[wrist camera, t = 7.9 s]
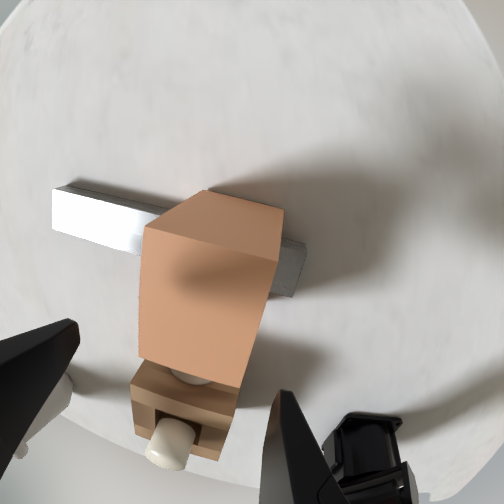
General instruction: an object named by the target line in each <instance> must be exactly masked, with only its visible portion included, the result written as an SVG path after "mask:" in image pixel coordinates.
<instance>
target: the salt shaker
mask: <svg viewBox="0 0 504 504" xmlns="http://www.w3.org/2000/svg"><path fill="white" fill-rule="evenodd" d="M72 390H73V384H72V382H71V380H70V378H69V376H68V374H66V373H65V372H64V374H63V376H62V377H61V379H60V380H59V382H58V383H57V385H56V386H55V388H54V389H53V391H52V393H51V394H50V396H49V397H48V399H47V400H46V402H45V403H44V405H43V406H42V408H41V410H40V411H39V413H38V414H37V416H36V418H35V419H34V421H33V422H32V424H31V426H30V427H29V429H28V431H27V432H26V434H25V436H24V437H23V439H22V441H21V443H20V444H19V446H18V448H17V450H16V451H15V453H14V455H13V457H15V458H17V459H22V458H23V457H24V456H25V455H26V454H27V452H28V446H27V444H26V442H27V441H28V440H29V439H31V438H32V437H33V436H34V435H35V434H36V433H37V432H39V431H40V430H41V429H42V428H43V427H44V426H46V424H48V423H49V422H50V421H51V420H52V419H53V418H55V417H56V416H57V415H58V414H59V413H61V412H62V411H63V410H64V409H65V408H66V407H68V405H69V403H70V400H71V395H72Z"/></svg>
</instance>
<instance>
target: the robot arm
mask: <svg viewBox="0 0 504 504" xmlns="http://www.w3.org/2000/svg"><path fill="white" fill-rule="evenodd" d="M79 344H80V334H79V327H78V323H77V322H76V321H73V320H71V319H69V318H67V319H63V320H60V321H58V322H55V323H52V324H49V325H46V326H43V327H40V328H37V329H34V330H31V331H28V332H25V333H22V334H19V335H16V336H13V337H10V338H7V339H4V340H1V341H0V479H1V478H2V476H3V473H4V471H5V470H6V468H7V466H8V464H9V462H10V461H11V459H12V457H13V455H14V453H15V451H16V450H17V448H18V446H19V444H20V443H21V441H22V439H23V437H24V436H25V434H26V432H27V431H28V429H29V427H30V426H31V424H32V422H33V421H34V419H35V418H36V416H37V414H38V413H39V411H40V410H41V408H42V406H43V405H44V403H45V402H46V400H47V399H48V397H49V396H50V394H51V393H52V391H53V389H54V388H55V386H56V385H57V383H58V382H59V380H60V379H61V377H62V376H63V374H64V372H65V370H66V368H67V367H68V365H69V363H70V361H71V359H72V357H73V355H74V354H75V352H76V350H77V348H78V346H79ZM402 423H403V422H402V419H401V418H387V417H374V416H363V415H354V414H348V415H346V416H345V417H344V418H343V419H342V421H341V422H340V423H339V425H338V426H337V427H336V428H335V429H334V430H333V431H332V432H331V434H330V435H329V436H328V438H327V439H326V440H325V441H324V444H323V445H322V451H324V455H323V453H322V451H321V449H320V447H319V445H318V443H317V441H316V439H315V437H314V435H313V433H312V431H311V429H310V427H309V425H308V423H307V421H306V419H305V417H304V415H303V413H302V411H301V409H300V407H299V404H298V402H297V400H296V398H295V396H294V394H293V392H292V391H288V390H283V389H280V390H279V391H278V393H277V395H276V397H275V399H274V402H273V404H272V407H271V411H270V416H269V421H268V426H267V431H266V436H265V441H264V446H263V454H262V469H261V482H260V495H259V504H419V500H418V489H417V485H416V481H415V476H414V474H413V472H412V470H411V468H410V466H409V464H408V462H407V461H405V462H403V463H401V459H400V454H399V450H398V445H397V440H396V436H395V431H396V430H397V429H398V428H399V427H400V426H401V425H402ZM400 486H404V487H402V488H399V487H400Z"/></svg>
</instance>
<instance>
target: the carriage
mask: <svg viewBox="0 0 504 504" xmlns="http://www.w3.org/2000/svg"><path fill="white" fill-rule="evenodd" d="M283 218H284V210H283V209H279V208H275V207H272V206H268V205H264V204H260V203H256V202H252V201H248V200H244V199H240V198H236V197H232V196H227V195H223V194H219V193H215V192H211V191H206V190H202V191H200V192H199V193H197V194H195V195H193V196H192V197H190V198H188V199H187V200H185V201H183V202H182V203H180V204H178V205H177V206H175V207H174V208H172V209H170V210H169V211H167V212H165V213H164V214H162V215H161V216H159V217H157V218H156V219H154V220H153V221H151V222H150V223H148V224H146V225H145V226H144V231H143V242H142V254H141V269H140V289H139V357H141V358H144V359H147V360H149V361H152V362H155V363H158V364H161V365H163V366H166V367H169V368H172V369H175V370H178V371H181V372H184V373H188V374H191V375H194V376H197V377H201V378H204V379H207V380H211V381H214V382H218V383H221V384H225V385H229V386H233V387H236V388H240V385H241V382H242V379H243V376H244V373H245V370H246V367H247V363H248V360H249V357H250V354H251V351H252V348H253V344H254V341H255V338H256V335H257V331H258V328H259V325H260V321H261V318H262V315H263V312H264V308H265V305H266V302H267V298H268V295H269V291H270V288H271V285H272V281H273V278H274V274H275V271H276V267H277V264H278V259H279V251H280V243H281V235H282V226H283Z"/></svg>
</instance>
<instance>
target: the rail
mask: <svg viewBox="0 0 504 504" xmlns="http://www.w3.org/2000/svg"><path fill="white" fill-rule="evenodd" d="M167 211H169V209H165V208H161V207H157V206H152V205H148V204H144V203H140V202H136V201H131V200H127V199H123V198H118V197H114V196H110V195H105V194H101V193H97V192H92V191H88V190H83V189H79V188H74V187H70V186H62V187H59V188H56V189H53V199H52V225H53V228H54V229H57V230H60V231H63V232H66V233H69V234H72V235H75V236H78V237H81V238H84V239H88V240H91V241H94V242H97V243H100V244H103V245H107V246H110V247H113V248H116V249H119V250H123V251H126V252H129V253H132V254H136V255H139V256H141V254H142V242H143V231H144V226H145V225H146V224H148V223H150V222H151V221H153V220H154V219H156V218H157V217H159V216H161V215H162V214H164V213H165V212H167ZM305 257H306V244H302V243H298V242H294V241H291V240H287V239H283V238H281V243H280V251H279V259H278V264H277V267H276V271H275V274H274V278H273V281H272V285H271V288H270V291H269V292H272V293H276V294H279V295H283V296H287V297H291V298H292V296H293V293H294V290H295V287H296V284H297V281H298V278H299V275H300V272H301V269H302V266H303V263H304V260H305Z"/></svg>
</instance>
